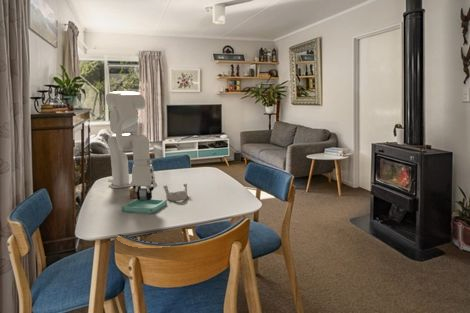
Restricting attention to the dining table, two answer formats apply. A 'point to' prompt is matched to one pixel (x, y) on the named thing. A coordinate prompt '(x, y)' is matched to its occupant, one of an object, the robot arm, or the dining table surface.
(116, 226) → the dining table surface
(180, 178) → the dining table surface
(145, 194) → the grey metal cylinder
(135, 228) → the dining table surface
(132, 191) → the walnut block
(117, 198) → the dining table surface
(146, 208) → the tray
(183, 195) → the anatomical model
